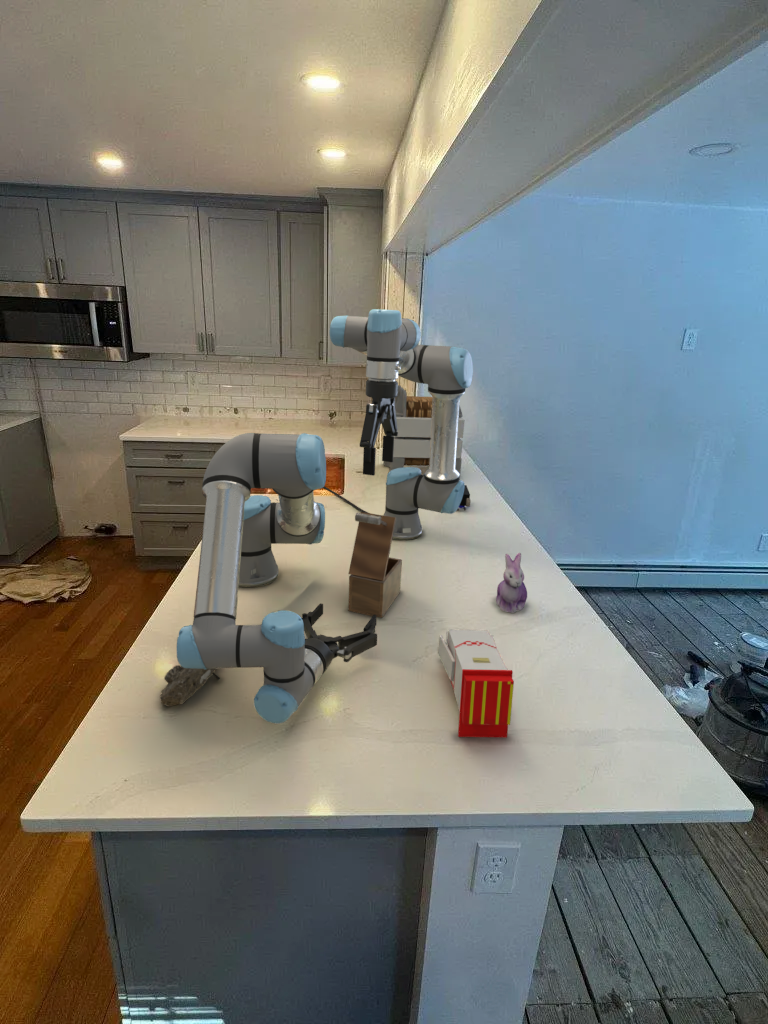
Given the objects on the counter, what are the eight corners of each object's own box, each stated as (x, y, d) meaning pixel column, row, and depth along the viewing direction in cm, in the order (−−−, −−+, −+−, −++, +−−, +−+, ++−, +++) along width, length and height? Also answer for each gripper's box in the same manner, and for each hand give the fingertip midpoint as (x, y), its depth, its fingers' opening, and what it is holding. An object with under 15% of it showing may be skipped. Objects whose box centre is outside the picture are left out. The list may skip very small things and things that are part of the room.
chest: (369, 585, 162) (370, 553, 158) (400, 592, 159) (402, 559, 156) (348, 610, 148) (349, 576, 145) (381, 618, 145) (383, 583, 142)
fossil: (184, 629, 128) (231, 598, 123) (214, 657, 131) (261, 628, 126) (138, 700, 109) (191, 667, 104) (173, 731, 112) (227, 701, 107)
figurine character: (470, 515, 225) (465, 499, 238) (472, 498, 221) (467, 483, 235) (453, 515, 224) (449, 499, 238) (455, 497, 221) (451, 482, 234)
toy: (488, 613, 130) (523, 677, 101) (484, 667, 133) (517, 744, 104) (435, 612, 130) (455, 676, 101) (432, 666, 133) (451, 743, 103)
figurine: (509, 617, 148) (516, 565, 143) (485, 599, 156) (491, 550, 151) (537, 610, 152) (544, 559, 147) (512, 593, 161) (519, 544, 156)
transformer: (382, 463, 289) (386, 382, 275) (445, 464, 293) (451, 384, 279) (390, 482, 257) (394, 392, 243) (460, 483, 261) (468, 394, 247)
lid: (362, 512, 147) (350, 506, 138) (396, 518, 144) (386, 512, 135) (349, 574, 145) (337, 572, 136) (384, 580, 142) (373, 579, 134)
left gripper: (254, 664, 120) (300, 617, 139) (364, 693, 113) (397, 639, 132) (253, 634, 117) (300, 590, 136) (365, 661, 110) (398, 610, 129)
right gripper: (379, 386, 120) (375, 483, 127) (412, 375, 142) (407, 458, 149) (346, 383, 122) (344, 478, 129) (384, 373, 144) (381, 454, 151)
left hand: (348, 614), depth 134 cm, fingers open, 13 cm apart
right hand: (378, 467), depth 139 cm, fingers open, 13 cm apart
